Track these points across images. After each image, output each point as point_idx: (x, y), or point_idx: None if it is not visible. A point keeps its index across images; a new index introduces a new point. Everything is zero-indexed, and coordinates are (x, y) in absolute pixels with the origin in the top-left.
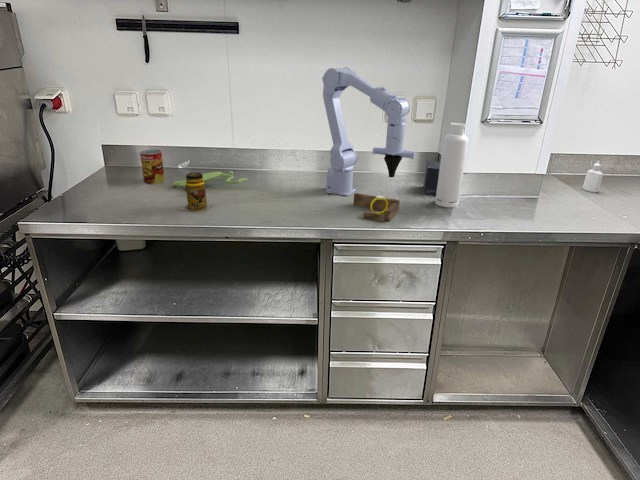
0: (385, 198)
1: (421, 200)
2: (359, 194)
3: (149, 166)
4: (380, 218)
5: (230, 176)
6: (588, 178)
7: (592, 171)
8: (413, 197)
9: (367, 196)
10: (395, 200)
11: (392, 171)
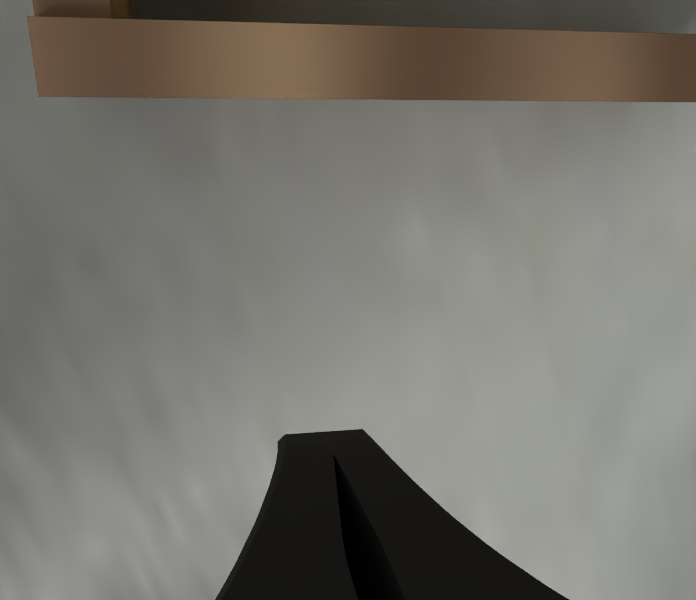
0: (274, 66)
1: (12, 564)
2: (674, 57)
3: None
4: None
5: None
6: None
7: None
8: (126, 597)
9: (549, 30)
10: (94, 44)
11: (299, 502)
